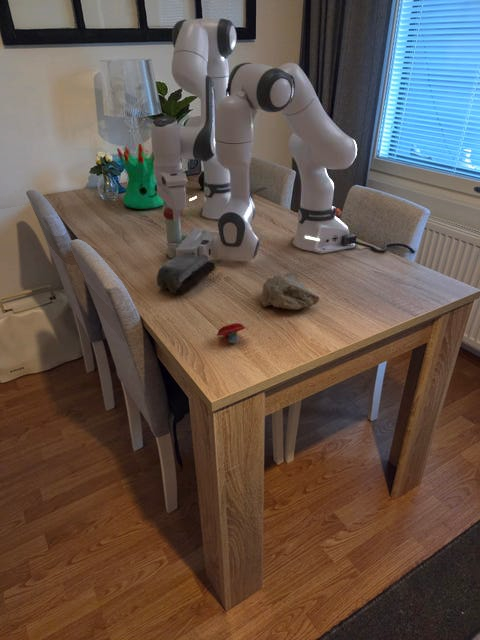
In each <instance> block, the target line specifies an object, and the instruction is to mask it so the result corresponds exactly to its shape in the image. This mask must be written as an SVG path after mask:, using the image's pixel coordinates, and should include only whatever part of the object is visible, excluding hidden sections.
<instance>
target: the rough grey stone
mask: <svg viewBox="0 0 480 640" xmlns="http://www.w3.org/2000/svg"><path fill="white" fill-rule="evenodd" d="M260 299H261V300H260V303H261V305H262V307H264V308H266V307H269V306H273V308H281V309H288V310H293V311H294V310H296V311H297V310H302V309H303V308H310V307H312V306H314V305H316V304H318V303H319V301H320V296H318V295H316V294H315V293H314V292H312V291H311V290H310V289H308V288H307V287H306V286H305V285H304V284H303V283H302V282H301V281H300V280H299V278H298V277H297V275H296V274H295V273H294V272H289V273H285V274H282V275H281V274H280V275H278V276H277V275H273V277H269V278H268V279H267V280H266V281H265V282H264V283H263V285H262V295H261V298H260Z"/></svg>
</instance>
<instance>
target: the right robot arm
mask: <svg viewBox="0 0 480 640" xmlns="http://www.w3.org/2000/svg"><path fill="white" fill-rule="evenodd" d="M228 95H229V96H228ZM226 96H227V97H224V98H223V99H222V100H221V101H220V102H219V104H218V107H217V113H216V121H215V150H216V155H217V160H218V162H219V163H220V164H221V165H222V166H223V167H224V168H226V169H228V170H229V173H230V188H231V196H230V199H229V201H228V204H227V206H226V208H225V209H224V211H223V213H222V214H221V216H220V218H219V219H217V220H218V221H217V229H218V231H212V230H210V229H204V228H193V229H192V230H191V231H190V232H189V233H188V234H181V236H182V243H181V244H175V242H170V243H169V244H167V248H168V247H169V248H170V249H175V250H176V256H179V255H181V254H183V253H185V252H187V253H193V252H194V253H195V255H194V256H195V257H198V256H202V255H206V256H207V257H208V261H209V262H211V261H213V260H222V259H226V260H229V261H237V262H249V261H253V260H254V259H255V258H256V257H257V254H258V251H259V248H260V247H259V246H260V238H259V237H257V235H256V234H255V232H254V230H253V228H252V226H251V223H252V221H253V220H254V218H255V215H256V207H255V204H254V202H253V199H252V198H251V196H250V194H251V182H250V181H251V180H250V178H251V177H250V175H251V174H250V167H251V163H252V157H253V149H254V121H255V118H256V115H257V113H258V110H259V111H264V112H266V113H278V112H281V115H283V117H284V119H285V121H286V124H287V125H288V126H289V128H290V130H291V132H292V134H291V136H290V138H289V140H288V151H289V154H290V156H291V157H292V158H293V160H294V161H295V163H296V166H297V169H298V172H299V177H300V203H299V205H298V212H297V227H296V231H295V235H294V239H293V241H292V244H293V246H295V247H296V248H298V249H300V250H305V251H309V252H314V253H317V254H327V253H333V252H337V251H343V250H349V249H353V248H355V247H356V245H358V246H360V247H366V248H369V249H371V250H373V251H374V252H376V253H379V254H383V253H386V251H387V248H388V247H403V248H405V249H407V250H409V251H410V252H411V253H412V254H415V253H416V251H415V250H414V248H412V247H411V246H409V245H408V244H405V243H401V242H400V243H399V242H393V243H385V244H384V245H383V249H378V248H377V247H375V246H374V245H371V244H368V243H363V242H361V241H357V235H355V234H354V233H350V230H349V227H348V226H347V225H346V223H344V222H343V221H342V220H341V219H340V218H339V217H337V216H341V215H342V210H341V209H340V208H337V207H335V206H333V200H334V193H335V191H334V190H335V185H334V182H333V180H332V179H331V178H330V177H329V175H328V172H327V169H328V170H347V169H349V167H350V166H352V164H353V163H354V161H355V160H356V158H357V152H358V147H357V143H356V140H355V139H354V138H352V137H351V136H349V135H348V134H346V133H345V132H344V131H343V130H342V129H341V128H340V127H339V126H338V125H336V123H335V122H334V121H333V119H332V118H331V117H330V116H329V115H328V114H327V112H326V111H325V110H324V108H323V105H322V104H321V102H320V99H319V97H318V96H317V93H316V91H315V89H314V87H313V85H312V83H311V80H310V79H309V77H308V76H307V75H306V73H305V72H304V70H303V69H302V68H301V66H299V65H298V64H297V63H295V62H286V63H283V64H281V65H280V66H278V67H273V66H270V65H267V64H264V63H259V64H258V63H252V62H242V63H239V64H236V66H234V67H233V68H232V69H231V71H230V72H229V79H228V84H227V89H226Z"/></svg>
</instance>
